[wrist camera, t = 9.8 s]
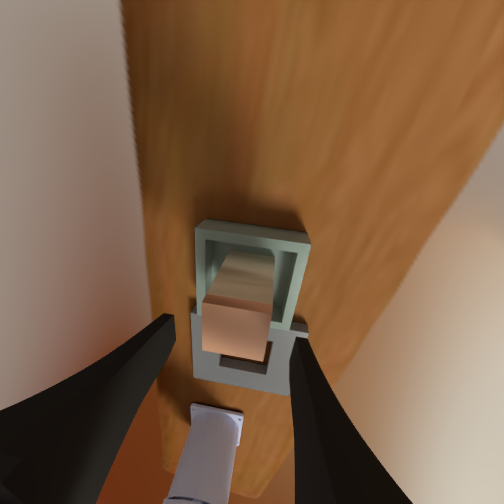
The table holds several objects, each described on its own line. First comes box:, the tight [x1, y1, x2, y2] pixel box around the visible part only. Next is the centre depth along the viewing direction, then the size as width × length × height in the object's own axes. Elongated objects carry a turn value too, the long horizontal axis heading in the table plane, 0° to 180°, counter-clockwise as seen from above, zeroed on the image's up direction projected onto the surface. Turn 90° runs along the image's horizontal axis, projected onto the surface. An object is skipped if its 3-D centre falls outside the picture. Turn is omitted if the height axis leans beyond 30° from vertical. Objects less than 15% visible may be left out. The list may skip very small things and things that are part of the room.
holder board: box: [191, 305, 309, 396], centre depth 23 cm, size 11×12×1 cm
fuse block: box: [202, 250, 275, 361], centre depth 15 cm, size 4×4×7 cm
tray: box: [195, 219, 311, 331], centre depth 17 cm, size 9×9×2 cm
